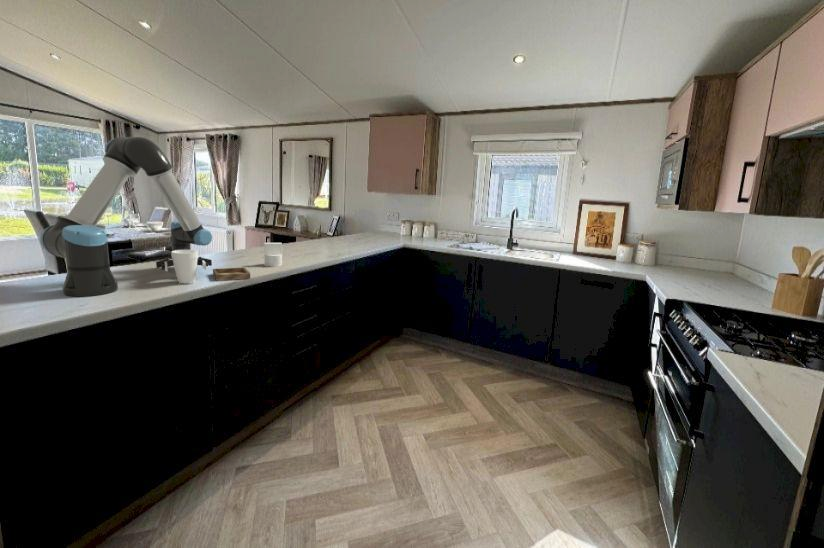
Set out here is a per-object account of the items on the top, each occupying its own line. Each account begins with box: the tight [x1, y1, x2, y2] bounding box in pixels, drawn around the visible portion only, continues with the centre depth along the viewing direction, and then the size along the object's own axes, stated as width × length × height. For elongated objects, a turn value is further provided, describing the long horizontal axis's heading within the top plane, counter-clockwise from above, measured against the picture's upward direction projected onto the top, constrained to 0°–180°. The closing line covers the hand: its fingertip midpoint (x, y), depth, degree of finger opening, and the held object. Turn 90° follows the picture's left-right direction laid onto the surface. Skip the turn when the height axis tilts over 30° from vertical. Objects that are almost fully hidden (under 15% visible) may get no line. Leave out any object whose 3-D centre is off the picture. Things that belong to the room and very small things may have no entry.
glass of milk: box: [263, 242, 283, 268], centre depth 200 cm, size 9×9×12 cm
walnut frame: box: [212, 266, 251, 282], centre depth 170 cm, size 14×14×3 cm
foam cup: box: [170, 249, 199, 284], centre depth 155 cm, size 10×9×13 cm
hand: (186, 267), depth 152 cm, fingers open, 13 cm apart
